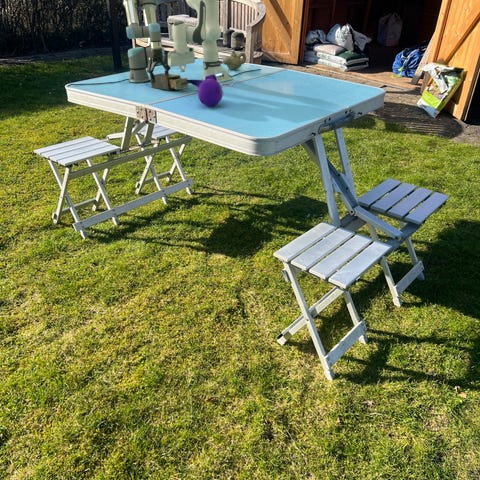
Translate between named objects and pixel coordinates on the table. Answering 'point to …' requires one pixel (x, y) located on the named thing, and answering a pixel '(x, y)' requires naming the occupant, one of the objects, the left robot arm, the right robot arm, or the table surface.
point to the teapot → (234, 60)
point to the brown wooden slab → (163, 81)
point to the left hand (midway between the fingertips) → (160, 81)
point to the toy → (208, 90)
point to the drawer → (178, 83)
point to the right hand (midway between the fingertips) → (182, 72)
